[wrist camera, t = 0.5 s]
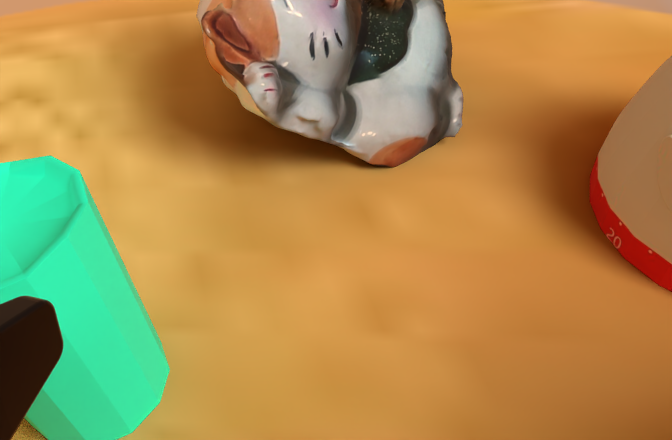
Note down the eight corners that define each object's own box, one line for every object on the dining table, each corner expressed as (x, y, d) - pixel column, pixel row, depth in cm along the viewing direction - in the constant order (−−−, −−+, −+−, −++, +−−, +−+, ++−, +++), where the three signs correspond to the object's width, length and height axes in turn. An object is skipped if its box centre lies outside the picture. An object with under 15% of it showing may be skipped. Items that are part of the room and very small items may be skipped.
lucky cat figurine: (471, 182, 34) (364, 12, 23) (284, 218, 39) (123, 95, 28) (459, -19, 40) (371, -227, 29) (300, 35, 45) (174, -124, 34)
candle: (194, 343, 28) (111, 136, 19) (119, 471, 24) (-29, 288, 15) (82, 308, 29) (-43, 102, 20) (-4, 423, 25) (-205, 232, 16)
